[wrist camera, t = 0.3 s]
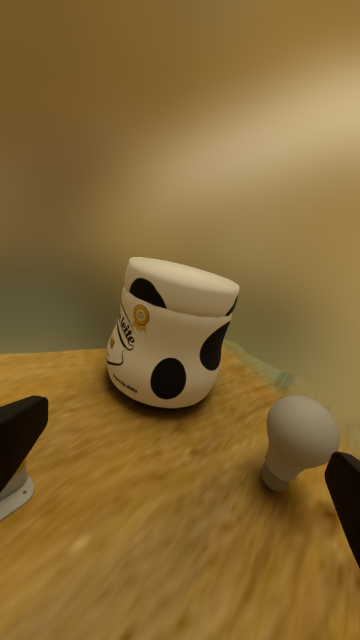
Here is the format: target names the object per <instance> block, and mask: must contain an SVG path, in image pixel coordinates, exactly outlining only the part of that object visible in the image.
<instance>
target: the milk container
mask: <svg viewBox="0 0 360 640" xmlns="http://www.w3.org/2000/svg"><path fill="white" fill-rule="evenodd" d="M124 281H125V282H124V288H123V291H122V299H121V307H120V314H119V318H118V321H117V324H116V326H115V328H114V331H113V333H112V334H111V337H110V339H109V342H108V346H107V353H106V362H107V371H108V374H109V377H110V379H111V380H112V382H113V384H114V385H115V387H116V388H117V389H118V390H119V391H120V392H122V393H123V394H124V395H126V396H127V397H129V398H130V399H132V400H134V401H136V402H139V403H141V404H144V405H147V406H150V407H155V408H162V409H180V408H185V407H189V406H192V405H194V404H196V403H198V402H199V401H201V400H202V399H203V398H205V397H206V396H207V394H208V393H209V392H210V390H211V388H212V387H213V385H214V383H215V381H216V379H217V376H218V374H219V370H220V363H221V347H222V342H223V339H224V336H225V334H226V331H227V328H228V326H229V323H230V320H231V317H232V311H233V310H234V307H235V305H236V301H237V297H238V293H239V286H238V285H237V284H236V283H235V282H233V281H231V280H228V279H226V278H224V277H221V276H218V275H216V274H213V273H210V272H207V271H203V270H200V269H197V268H193V267H189V266H186V265H181V264H177V263H173V262H168V261H163V260H158V259H152V258H144V257H134V258H131V259H130V260H129V263H128V266H127V270H126V274H125V280H124Z"/></svg>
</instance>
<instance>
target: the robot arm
mask: <svg viewBox="0 0 360 640" xmlns="http://www.w3.org/2000/svg"><path fill="white" fill-rule="evenodd" d="M47 422H48V399H47V398H46V397H41V396H30V397H28V398H25V399H22V400H19V401H16V402H13V403H10V404H7V405H4V406H2V407H0V493H1V491H2V490H3V489H4V488H5V486H6V485H7V484H8V482H9V481H10V480H11V478H12V477H13V476H14V474H15V473H16V471H17V470H18V468H19V467H20V465H21V464H22V462H23V461H24V459H25V458H26V456H27V455H28V453H29V452H30V450H31V449H32V447H33V446H34V444H35V443H36V441H37V439H38V438H39V436H40V435H41V433H42V432H43V430H44V429H45V427H46V425H47ZM325 481H326V484H327V487H328V490H329V492H330V495H331V498H332V500H333V503H334V506H335V509H336V511H337V514H338V517H339V519H340V522H341V525H342V528H343V530H344V533H345V535H346V538H347V541H348V543H349V546H350V548H351V550H352V552H353V555H354V557H355V559H356V561H357V564H358V566H359V568H360V461H359V460H358V459H356V458H355V457H354V456H352V455H350V454H348V453H343V452H338V451H336V452H334V453H332V455H331V458H330V460H329V463H328V465H327V468H326V470H325Z"/></svg>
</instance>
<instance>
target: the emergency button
mask: <svg viewBox="0 0 360 640" xmlns="http://www.w3.org/2000/svg"><path fill="white" fill-rule="evenodd" d="M25 463H26V462H25V459H24V461H23V462H22V464H21V465H20V467H19V468H18V470H17V471H16V473H15V474H14V476H13V477H12V478H11V480H10V481H9V482H8V484H7V485H6V486H5V488H4V489H3V490H2V491H1V493H0V522H1V521H2V520H4V519H5V518H6V517H8V516H9V515H11V514H12V513H13V512H15V511H16V510H18V509H19V508H20V507H22V506H23V505H25V504H26V503H27V502H28V501H29V500H30V499H31V498H32V496H33V493H34V485H33V482H32V480H31V478H30V477H29V475H28V474H27V472H26V466H25Z"/></svg>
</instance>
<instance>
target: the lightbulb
mask: <svg viewBox="0 0 360 640" xmlns="http://www.w3.org/2000/svg"><path fill="white" fill-rule="evenodd" d="M267 433H268V439H269V447H268V451H267V453H266V456H265V463H264V465H263V468H262V471H261V477H262V479H263V481H264V483H265V484H266V485H267V487H269V488H270V489H271V490H273V491H276V492H281V491H283V490H284V489H285V487H286V486H287V485H288V483H289V482H290V481H293V480H294V479H295V478H296V477H297V475H298V474H299V473H301V472H302V471H303V470H305V469H309V468H314V467H318V466H321V465H324V464H326V463H328V462H329V460H330V458H331V455H332V453H334V452H336V451H338V448H339V443H340V435H339V430H338V426H337V424H336V422H335V420H334V418H333V417H332V415H331V414H330V413H329V411H328V410H327V409H326V408H325V407H323V406H322V405H321V404H320V403H318V402H316V401H315V400H312V399H310V398H307V397H304V396H294V395H293V396H288V397H284V398H282V399H280V400H278V401H277V402H276V403H275V404H274V405H273V406H272V407H271V409H270V411H269V413H268V416H267Z"/></svg>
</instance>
